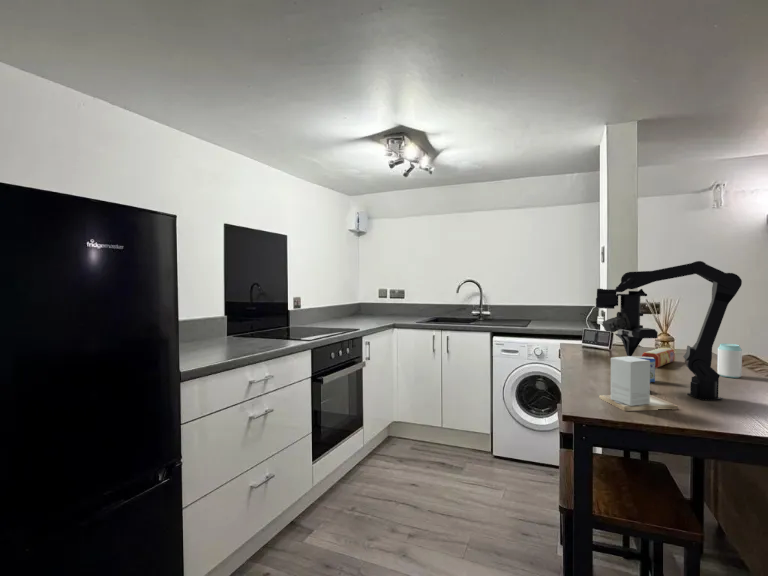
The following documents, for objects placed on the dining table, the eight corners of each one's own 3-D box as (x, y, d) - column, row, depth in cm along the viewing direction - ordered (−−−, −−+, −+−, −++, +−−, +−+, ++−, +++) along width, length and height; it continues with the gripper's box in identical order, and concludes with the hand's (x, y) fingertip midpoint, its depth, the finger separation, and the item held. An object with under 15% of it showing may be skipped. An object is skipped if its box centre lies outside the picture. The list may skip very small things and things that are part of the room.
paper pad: (648, 397, 132) (648, 393, 132) (677, 409, 120) (677, 404, 120) (599, 398, 131) (599, 394, 131) (624, 410, 119) (624, 406, 119)
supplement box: (650, 404, 120) (651, 360, 120) (630, 406, 118) (630, 361, 118) (629, 397, 128) (629, 355, 127) (609, 399, 125) (609, 357, 125)
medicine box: (629, 381, 152) (630, 357, 152) (627, 378, 156) (628, 355, 156) (655, 383, 149) (655, 358, 149) (652, 380, 153) (652, 356, 153)
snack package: (658, 360, 189) (659, 345, 189) (676, 362, 184) (676, 347, 184) (640, 367, 176) (641, 350, 176) (658, 369, 171) (659, 353, 171)
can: (746, 378, 155) (747, 346, 154) (727, 378, 155) (727, 346, 154) (731, 374, 162) (731, 343, 161) (712, 374, 162) (713, 343, 162)
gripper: (591, 307, 149) (590, 351, 149) (625, 312, 130) (624, 362, 131) (621, 307, 150) (620, 350, 150) (659, 311, 131) (658, 361, 131)
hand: (629, 356), depth 140 cm, fingers closed
